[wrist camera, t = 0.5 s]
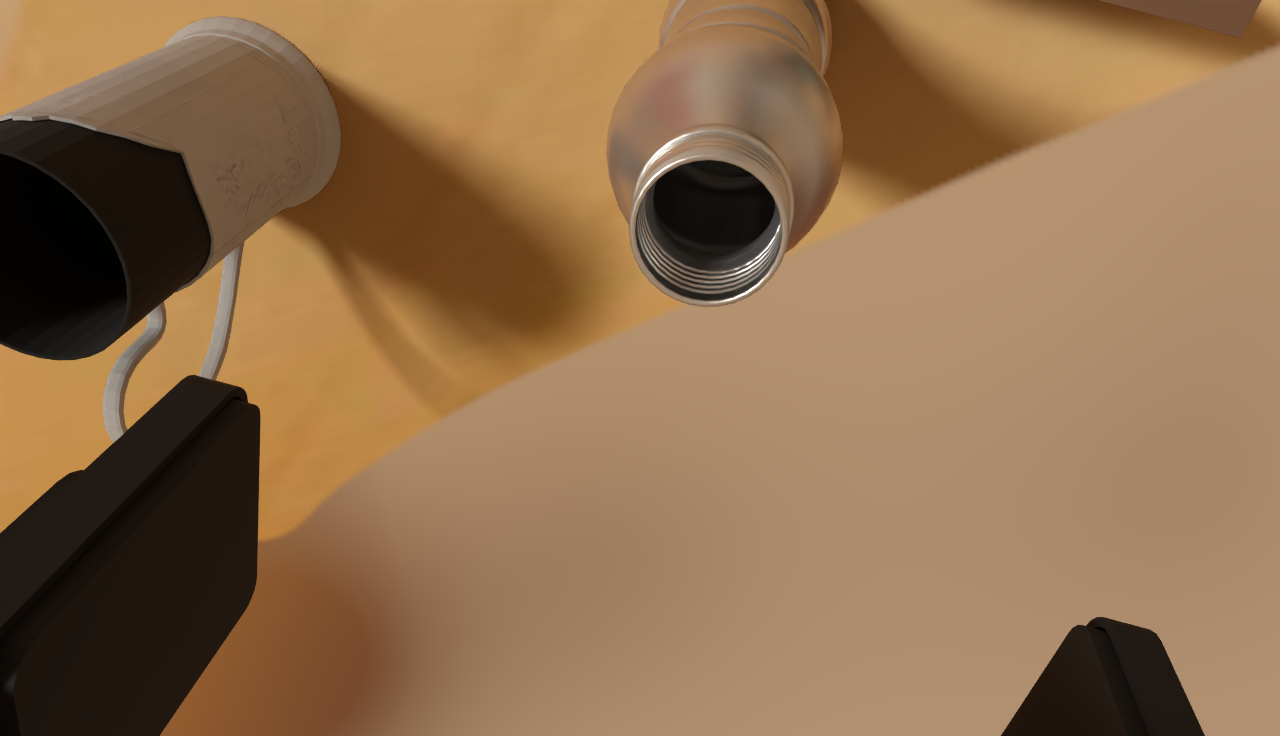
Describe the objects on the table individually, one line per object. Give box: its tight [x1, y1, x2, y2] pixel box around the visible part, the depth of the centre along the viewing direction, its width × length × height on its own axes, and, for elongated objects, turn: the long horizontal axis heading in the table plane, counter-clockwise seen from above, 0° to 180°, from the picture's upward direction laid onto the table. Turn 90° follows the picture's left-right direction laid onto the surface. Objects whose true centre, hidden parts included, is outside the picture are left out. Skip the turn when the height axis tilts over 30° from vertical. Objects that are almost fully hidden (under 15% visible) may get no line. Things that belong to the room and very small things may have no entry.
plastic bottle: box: [606, 0, 843, 307], centre depth 29 cm, size 6×7×20 cm
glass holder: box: [0, 17, 341, 442], centre depth 38 cm, size 9×14×15 cm, turn 1°
